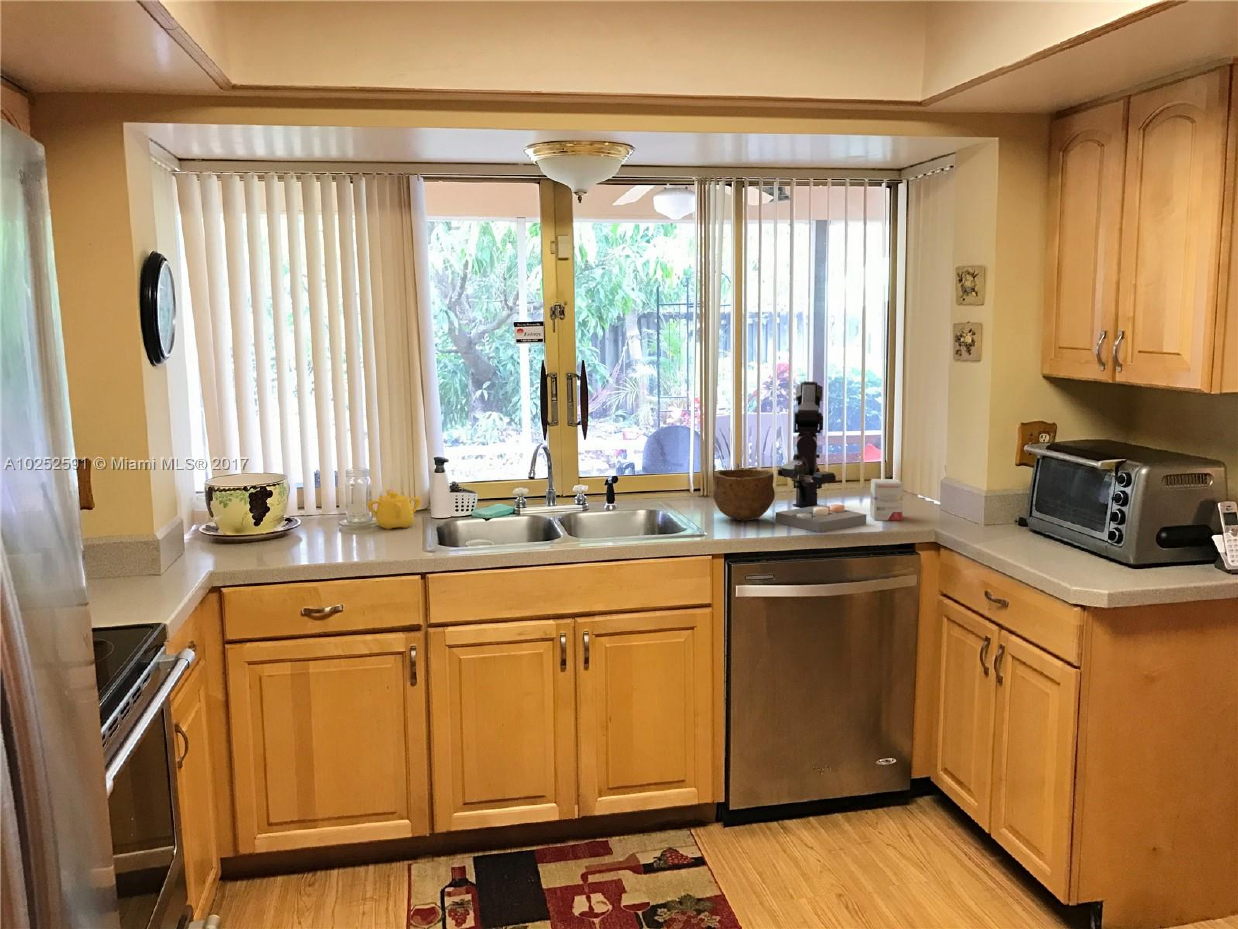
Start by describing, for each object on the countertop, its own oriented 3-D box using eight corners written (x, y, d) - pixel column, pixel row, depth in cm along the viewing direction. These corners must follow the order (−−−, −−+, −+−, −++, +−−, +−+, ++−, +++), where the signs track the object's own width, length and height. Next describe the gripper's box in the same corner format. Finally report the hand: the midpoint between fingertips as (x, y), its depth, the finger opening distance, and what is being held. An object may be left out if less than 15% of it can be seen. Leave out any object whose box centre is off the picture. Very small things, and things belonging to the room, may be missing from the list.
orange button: (826, 515, 297) (826, 505, 297) (836, 513, 300) (836, 503, 299) (837, 517, 294) (837, 507, 293) (847, 515, 296) (847, 506, 296)
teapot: (361, 528, 288) (360, 494, 286) (388, 520, 299) (387, 487, 297) (399, 532, 282) (398, 498, 280) (425, 524, 293) (424, 490, 292)
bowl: (702, 522, 294) (703, 473, 292) (725, 511, 311) (726, 465, 308) (761, 528, 286) (762, 478, 283) (782, 517, 302) (783, 469, 300)
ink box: (897, 515, 304) (898, 478, 302) (902, 521, 296) (903, 482, 294) (869, 514, 305) (870, 477, 303) (873, 520, 297) (874, 482, 295)
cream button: (810, 517, 293) (810, 508, 293) (820, 516, 296) (820, 506, 295) (820, 520, 290) (821, 510, 289) (831, 518, 292) (831, 508, 292)
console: (775, 521, 295) (775, 512, 294) (822, 514, 306) (822, 504, 306) (818, 532, 280) (819, 522, 280) (866, 524, 291) (866, 514, 291)
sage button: (793, 524, 290) (793, 514, 289) (803, 522, 292) (804, 512, 292) (803, 527, 286) (804, 517, 286) (814, 525, 289) (814, 515, 288)
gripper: (764, 449, 289) (763, 501, 292) (810, 457, 274) (808, 511, 276) (792, 446, 295) (790, 497, 298) (837, 453, 280) (836, 507, 283)
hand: (805, 503), depth 288 cm, fingers closed
